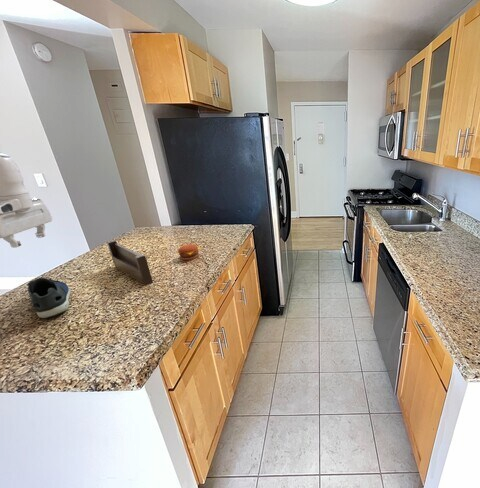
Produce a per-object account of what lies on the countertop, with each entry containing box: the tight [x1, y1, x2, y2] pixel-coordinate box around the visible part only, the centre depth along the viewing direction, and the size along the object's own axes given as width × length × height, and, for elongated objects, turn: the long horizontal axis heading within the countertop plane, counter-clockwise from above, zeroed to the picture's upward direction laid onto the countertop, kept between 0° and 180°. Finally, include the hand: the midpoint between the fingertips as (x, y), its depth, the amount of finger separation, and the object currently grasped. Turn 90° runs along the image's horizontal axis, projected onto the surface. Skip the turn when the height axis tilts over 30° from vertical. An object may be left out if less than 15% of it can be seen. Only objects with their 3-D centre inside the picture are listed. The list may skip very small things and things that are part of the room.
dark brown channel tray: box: [106, 239, 154, 286], centre depth 118 cm, size 3×32×13 cm, turn 56°
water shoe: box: [27, 276, 71, 319], centre depth 98 cm, size 10×29×12 cm, turn 51°
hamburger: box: [175, 243, 202, 261], centre depth 136 cm, size 9×10×7 cm
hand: (29, 241), depth 91 cm, fingers open, 8 cm apart
